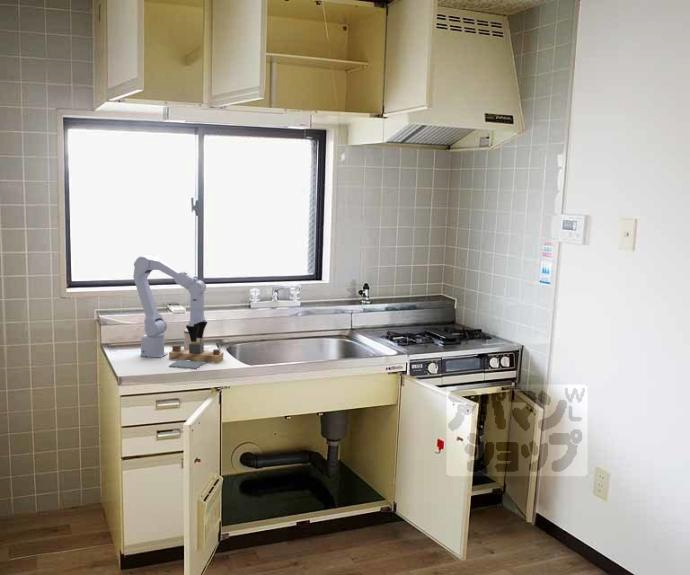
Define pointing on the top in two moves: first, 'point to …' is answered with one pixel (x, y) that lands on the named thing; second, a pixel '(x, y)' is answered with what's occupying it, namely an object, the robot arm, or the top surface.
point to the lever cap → (196, 347)
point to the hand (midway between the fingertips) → (196, 339)
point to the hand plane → (195, 355)
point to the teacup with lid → (188, 340)
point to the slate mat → (187, 364)
